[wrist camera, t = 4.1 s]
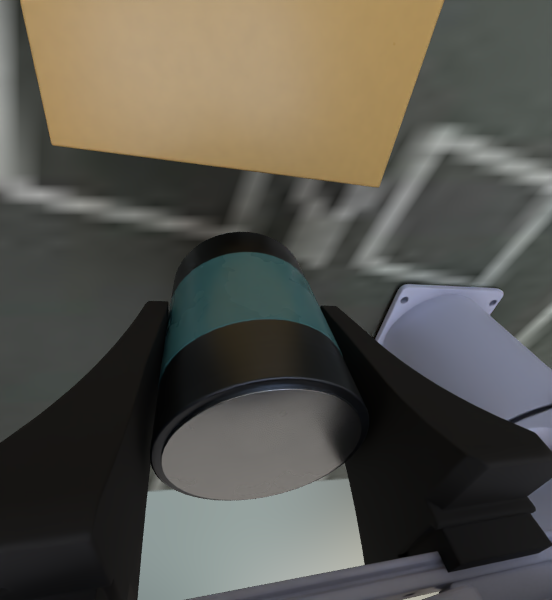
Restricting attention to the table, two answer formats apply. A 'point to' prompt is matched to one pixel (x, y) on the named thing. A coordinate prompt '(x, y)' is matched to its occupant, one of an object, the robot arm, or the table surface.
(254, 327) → the can
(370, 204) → the table surface
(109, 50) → the platform
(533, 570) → the robot arm
